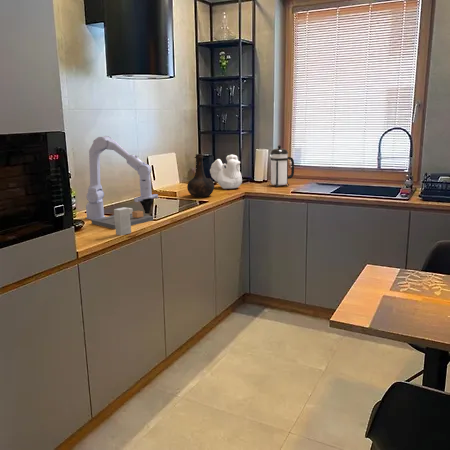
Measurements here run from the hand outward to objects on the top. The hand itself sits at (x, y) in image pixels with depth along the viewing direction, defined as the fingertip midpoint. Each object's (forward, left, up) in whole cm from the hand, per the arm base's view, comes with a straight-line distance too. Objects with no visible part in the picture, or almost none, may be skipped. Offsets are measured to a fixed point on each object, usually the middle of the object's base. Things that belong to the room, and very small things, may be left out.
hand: (147, 213), depth 244 cm
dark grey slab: (-5, -12, -3) cm, 14 cm away
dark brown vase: (-23, +66, -3) cm, 70 cm away
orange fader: (0, -6, -1) cm, 6 cm away
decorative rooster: (-31, +102, -3) cm, 106 cm away
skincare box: (+15, -27, -3) cm, 31 cm away
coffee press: (-4, +132, -3) cm, 132 cm away
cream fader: (-10, -5, -1) cm, 11 cm away
